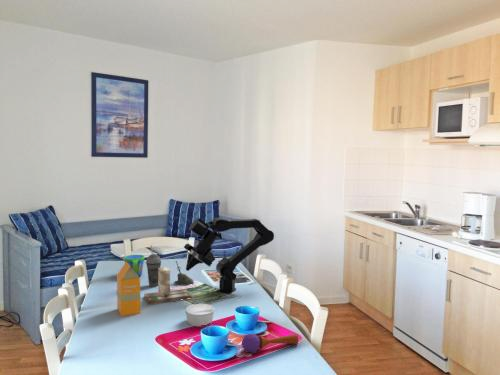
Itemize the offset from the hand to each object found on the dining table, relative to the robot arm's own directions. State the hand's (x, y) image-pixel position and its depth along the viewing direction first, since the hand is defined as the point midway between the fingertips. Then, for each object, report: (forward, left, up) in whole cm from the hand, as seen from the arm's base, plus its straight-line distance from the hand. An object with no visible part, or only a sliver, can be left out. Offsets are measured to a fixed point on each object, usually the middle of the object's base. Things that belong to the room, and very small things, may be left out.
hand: (186, 270), depth 194 cm
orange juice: (+12, +26, -12) cm, 31 cm away
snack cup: (+41, -16, -12) cm, 46 cm away
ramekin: (-20, +24, -12) cm, 34 cm away
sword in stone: (+11, -16, -12) cm, 23 cm away
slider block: (+7, +8, -10) cm, 14 cm away
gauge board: (+6, +6, -12) cm, 15 cm away
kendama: (-52, +34, -12) cm, 63 cm away
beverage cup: (+22, -6, -12) cm, 26 cm away
